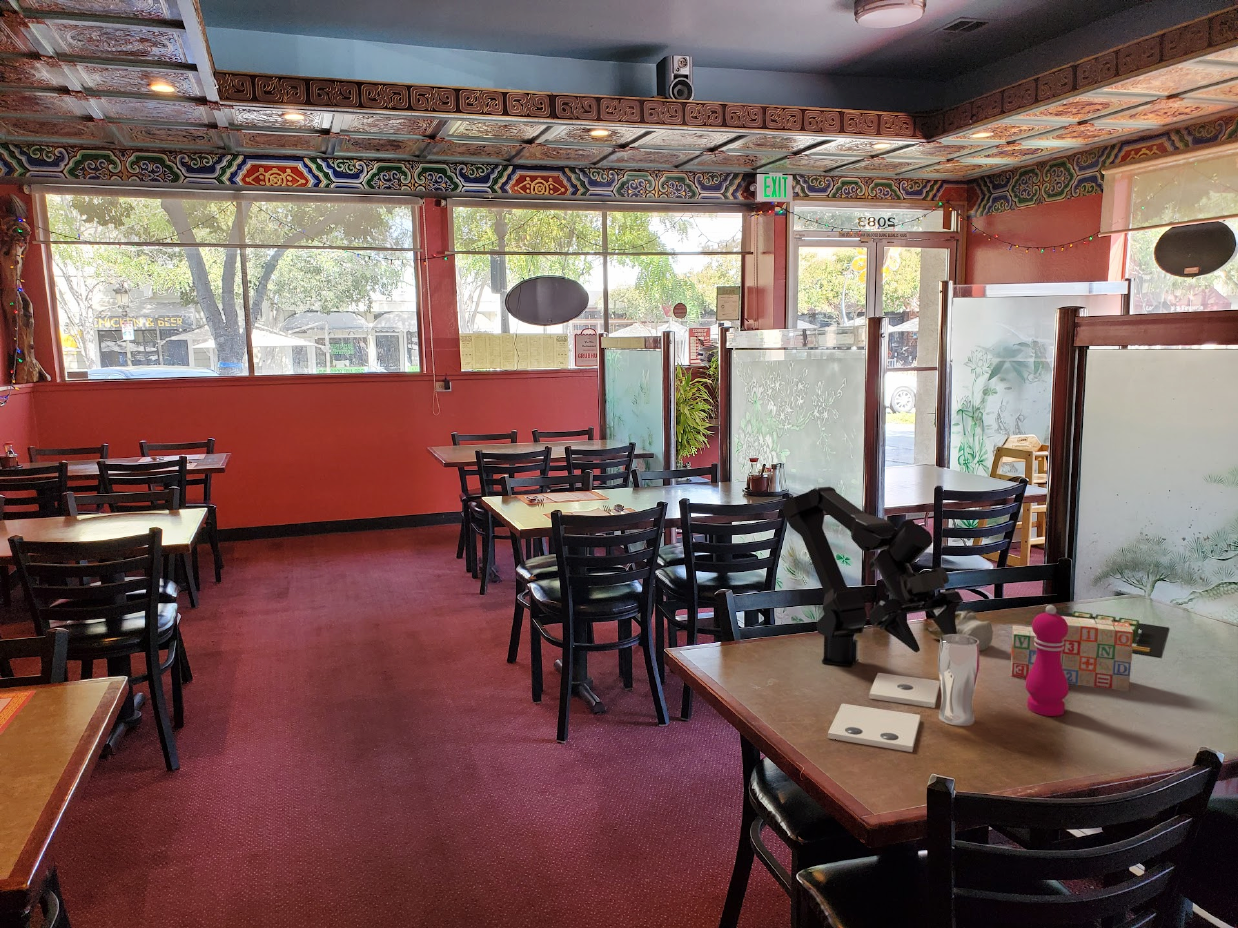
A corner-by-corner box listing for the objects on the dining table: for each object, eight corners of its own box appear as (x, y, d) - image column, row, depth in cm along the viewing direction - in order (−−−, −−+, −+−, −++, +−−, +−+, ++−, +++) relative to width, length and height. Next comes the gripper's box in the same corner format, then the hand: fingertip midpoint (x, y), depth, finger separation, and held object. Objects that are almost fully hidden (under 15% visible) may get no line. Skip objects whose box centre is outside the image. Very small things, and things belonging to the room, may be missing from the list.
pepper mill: (1016, 702, 169) (1021, 600, 166) (1053, 701, 170) (1058, 599, 167) (1037, 718, 162) (1043, 611, 159) (1075, 716, 162) (1081, 610, 160)
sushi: (1035, 640, 207) (1035, 624, 207) (1054, 614, 227) (1054, 599, 227) (1160, 660, 193) (1161, 644, 192) (1168, 630, 213) (1169, 615, 213)
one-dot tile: (869, 698, 172) (869, 693, 172) (877, 677, 183) (877, 672, 183) (934, 707, 167) (935, 702, 167) (939, 685, 178) (939, 680, 178)
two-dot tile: (827, 738, 154) (827, 732, 154) (841, 708, 167) (841, 703, 167) (912, 752, 149) (912, 746, 149) (920, 720, 161) (920, 714, 161)
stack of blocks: (1010, 677, 183) (1013, 619, 181) (1010, 667, 188) (1012, 610, 187) (1129, 691, 174) (1133, 630, 173) (1125, 680, 180) (1129, 621, 179)
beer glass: (980, 728, 158) (983, 646, 156) (939, 725, 159) (942, 644, 157) (973, 712, 164) (976, 634, 163) (933, 710, 166) (936, 632, 164)
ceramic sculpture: (970, 617, 194) (923, 603, 208) (970, 656, 194) (922, 640, 208) (1007, 612, 198) (958, 599, 212) (1007, 650, 198) (958, 635, 212)
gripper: (880, 558, 164) (920, 633, 155) (958, 549, 172) (1000, 619, 163) (852, 590, 172) (889, 662, 164) (927, 579, 180) (966, 648, 171)
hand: (937, 647), depth 165 cm, fingers open, 9 cm apart
